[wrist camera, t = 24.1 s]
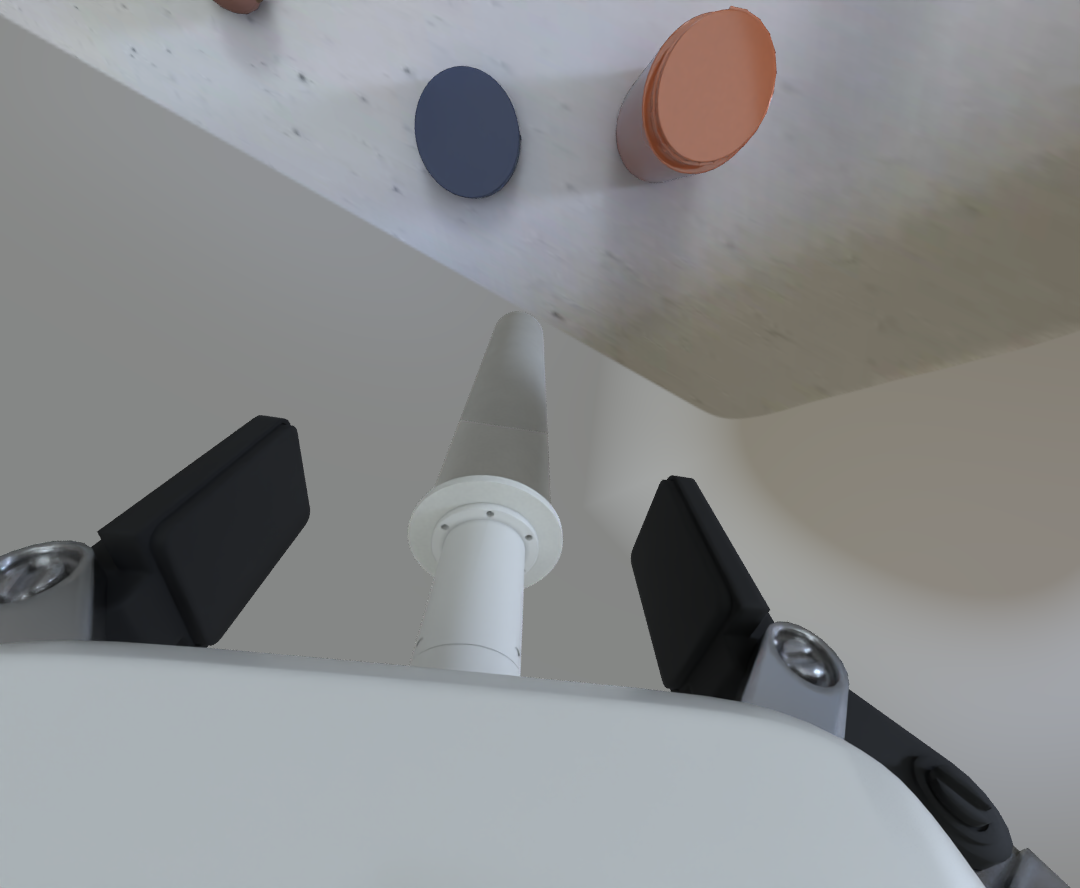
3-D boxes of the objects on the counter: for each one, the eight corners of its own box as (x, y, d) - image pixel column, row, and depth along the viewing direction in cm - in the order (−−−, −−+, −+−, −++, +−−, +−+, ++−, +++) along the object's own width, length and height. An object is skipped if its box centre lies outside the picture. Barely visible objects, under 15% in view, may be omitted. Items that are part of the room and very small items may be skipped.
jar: (690, 190, 29) (750, 181, 21) (606, 174, 28) (633, 159, 20) (724, 75, 26) (810, 12, 18) (629, 55, 25) (673, -20, 17)
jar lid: (518, 73, 26) (517, 64, 24) (523, 197, 29) (522, 196, 28) (413, 75, 26) (405, 67, 24) (430, 199, 29) (424, 199, 28)
